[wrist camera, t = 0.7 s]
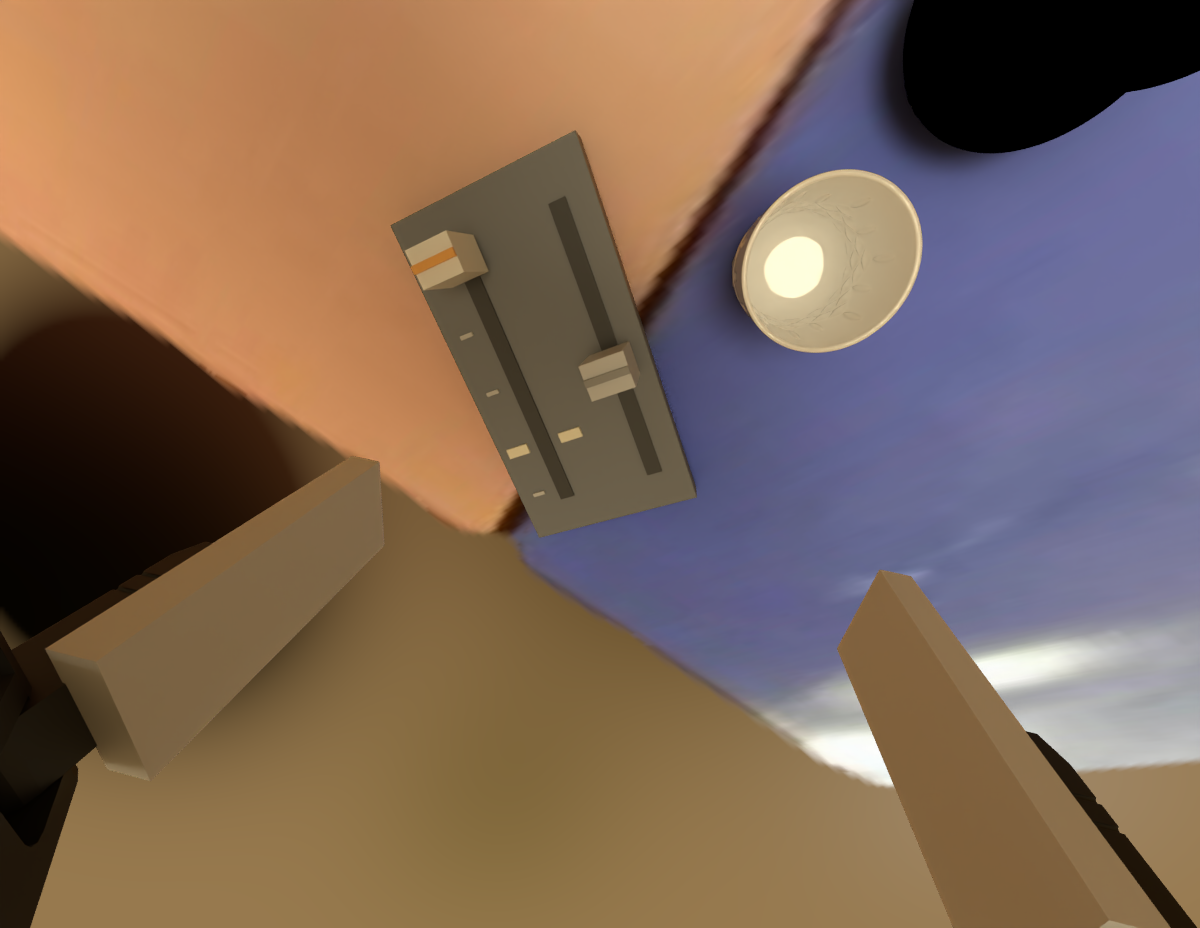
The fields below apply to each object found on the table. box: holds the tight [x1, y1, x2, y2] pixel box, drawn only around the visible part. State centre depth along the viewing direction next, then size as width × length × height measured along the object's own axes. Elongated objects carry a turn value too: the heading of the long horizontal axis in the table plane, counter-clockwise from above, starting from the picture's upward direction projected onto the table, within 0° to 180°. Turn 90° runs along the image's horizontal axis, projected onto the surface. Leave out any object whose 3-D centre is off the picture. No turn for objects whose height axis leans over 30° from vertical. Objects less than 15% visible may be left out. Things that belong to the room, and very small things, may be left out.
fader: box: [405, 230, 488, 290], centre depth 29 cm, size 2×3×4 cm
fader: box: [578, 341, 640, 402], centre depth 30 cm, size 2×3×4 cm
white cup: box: [732, 169, 922, 353], centre depth 26 cm, size 8×8×10 cm
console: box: [391, 131, 697, 538], centre depth 34 cm, size 26×14×2 cm, turn 21°
